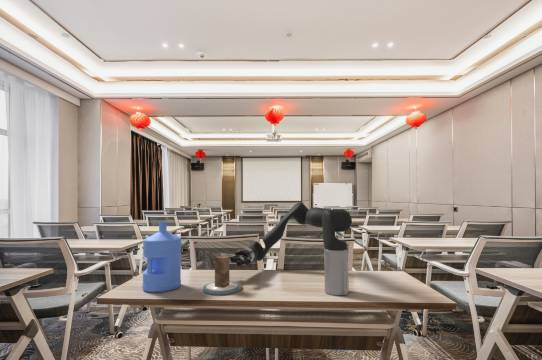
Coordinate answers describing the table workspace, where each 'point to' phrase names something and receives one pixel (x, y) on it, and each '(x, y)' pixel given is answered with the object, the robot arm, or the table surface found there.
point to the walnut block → (221, 271)
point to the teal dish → (229, 289)
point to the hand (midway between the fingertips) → (229, 263)
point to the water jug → (162, 261)
